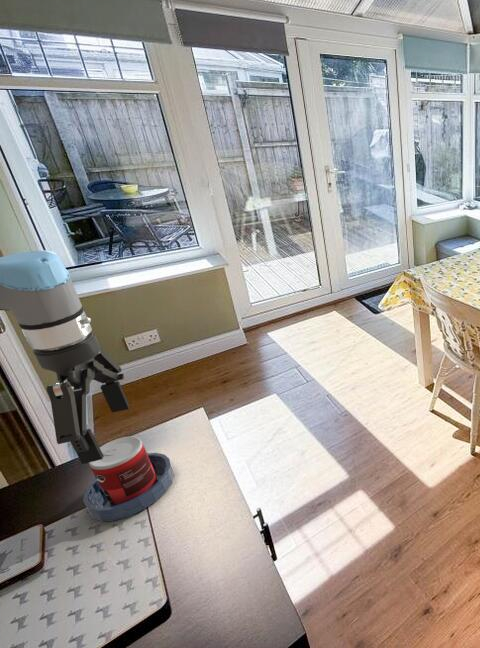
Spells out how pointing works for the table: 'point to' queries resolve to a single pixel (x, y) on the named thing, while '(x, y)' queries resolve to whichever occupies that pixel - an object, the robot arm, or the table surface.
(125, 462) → the canned food
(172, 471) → the bowl
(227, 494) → the table surface
